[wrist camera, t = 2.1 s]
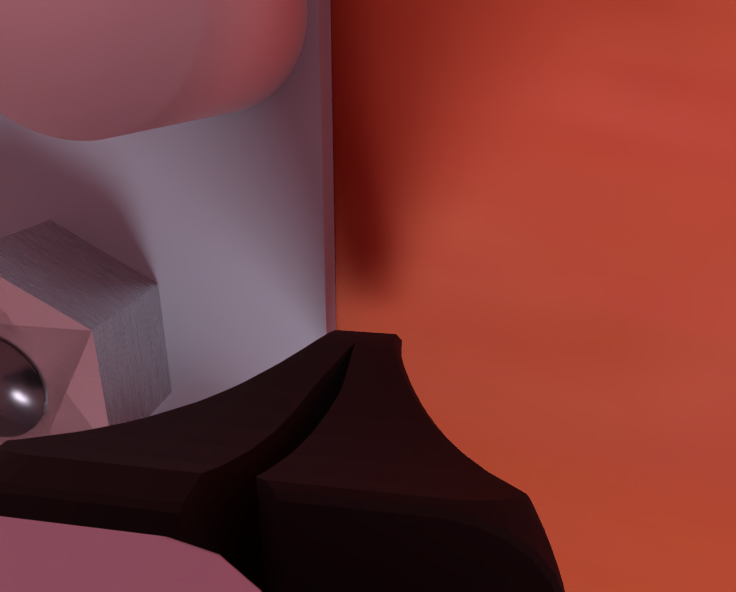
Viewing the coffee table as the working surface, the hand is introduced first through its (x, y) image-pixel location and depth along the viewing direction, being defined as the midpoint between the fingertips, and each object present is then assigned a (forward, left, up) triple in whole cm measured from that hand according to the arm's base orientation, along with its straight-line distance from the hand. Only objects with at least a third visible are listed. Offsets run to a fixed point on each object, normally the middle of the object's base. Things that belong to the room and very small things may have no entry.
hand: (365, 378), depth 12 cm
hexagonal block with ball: (0, +7, -1) cm, 7 cm away
